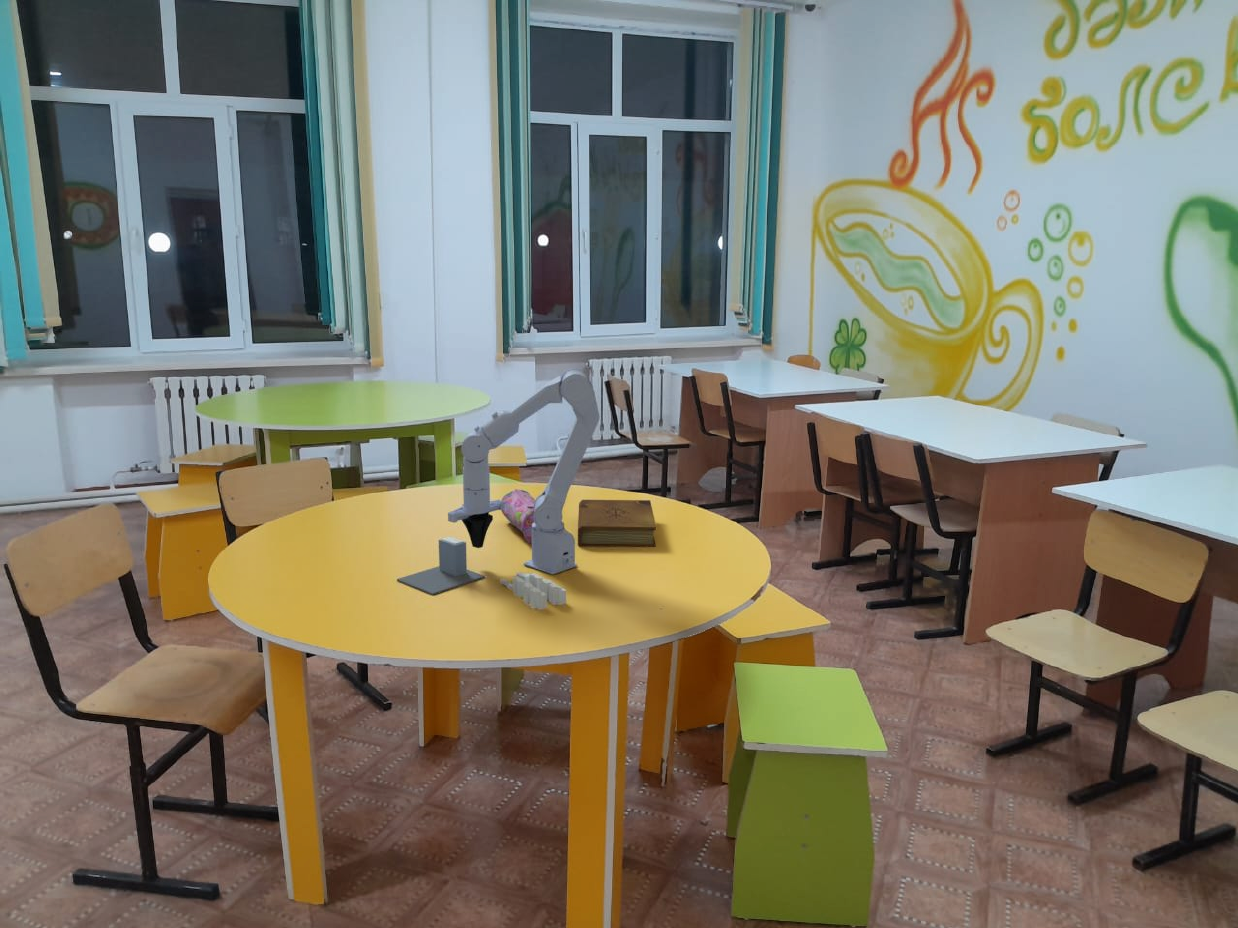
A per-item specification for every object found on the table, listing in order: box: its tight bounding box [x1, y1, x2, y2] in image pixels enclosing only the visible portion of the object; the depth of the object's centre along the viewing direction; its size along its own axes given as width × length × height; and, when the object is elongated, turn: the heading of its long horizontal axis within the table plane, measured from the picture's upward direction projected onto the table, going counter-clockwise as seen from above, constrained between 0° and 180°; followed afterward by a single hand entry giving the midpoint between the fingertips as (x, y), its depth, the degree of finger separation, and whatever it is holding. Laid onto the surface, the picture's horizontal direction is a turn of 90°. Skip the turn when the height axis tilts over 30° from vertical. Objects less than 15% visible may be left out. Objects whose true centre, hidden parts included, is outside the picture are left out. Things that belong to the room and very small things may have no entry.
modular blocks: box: [500, 571, 567, 611], centre depth 186 cm, size 20×7×4 cm, turn 35°
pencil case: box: [500, 488, 536, 544], centre depth 225 cm, size 21×9×9 cm, turn 22°
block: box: [438, 536, 468, 576], centre depth 195 cm, size 6×3×7 cm, turn 49°
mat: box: [396, 565, 486, 596], centre depth 192 cm, size 12×14×1 cm
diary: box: [577, 499, 657, 548], centre depth 226 cm, size 23×19×6 cm
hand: (477, 546), depth 200 cm, fingers closed
